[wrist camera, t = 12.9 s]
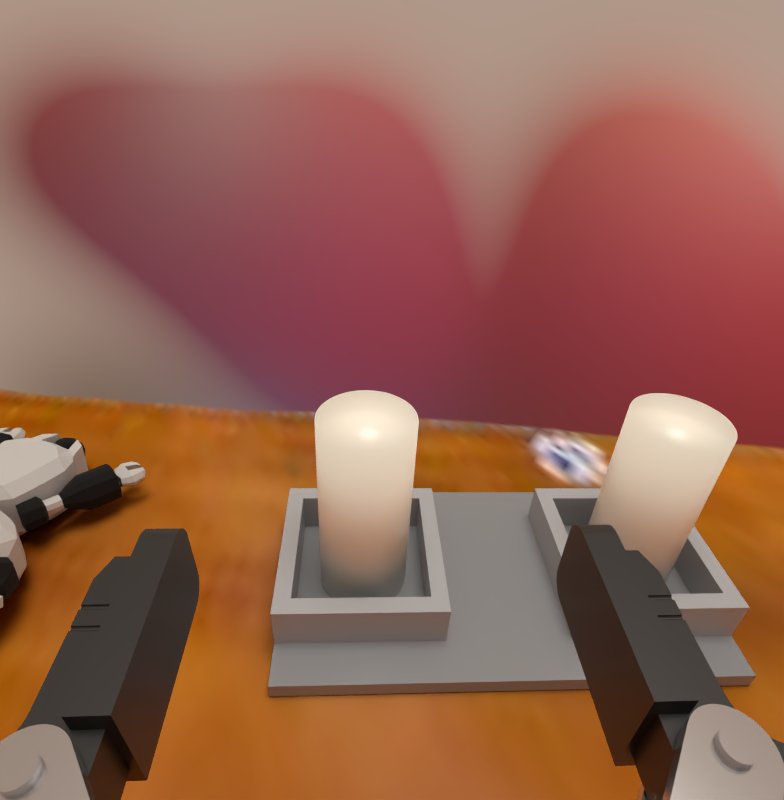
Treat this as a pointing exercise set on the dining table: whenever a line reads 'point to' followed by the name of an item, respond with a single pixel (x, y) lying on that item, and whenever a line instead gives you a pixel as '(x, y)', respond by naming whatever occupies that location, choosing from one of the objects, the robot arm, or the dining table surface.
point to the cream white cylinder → (364, 491)
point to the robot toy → (47, 490)
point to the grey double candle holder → (511, 574)
